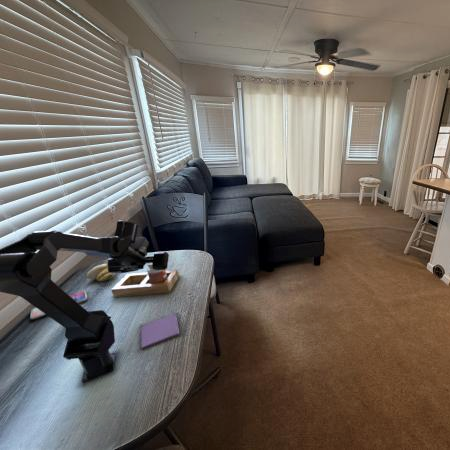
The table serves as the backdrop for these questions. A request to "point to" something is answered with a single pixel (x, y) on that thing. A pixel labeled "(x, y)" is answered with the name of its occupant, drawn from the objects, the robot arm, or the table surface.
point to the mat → (159, 330)
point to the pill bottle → (156, 274)
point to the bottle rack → (143, 284)
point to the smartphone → (77, 297)
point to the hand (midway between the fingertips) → (151, 268)
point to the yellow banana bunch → (100, 273)
